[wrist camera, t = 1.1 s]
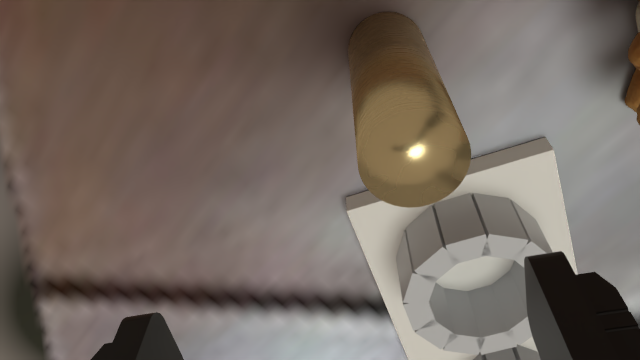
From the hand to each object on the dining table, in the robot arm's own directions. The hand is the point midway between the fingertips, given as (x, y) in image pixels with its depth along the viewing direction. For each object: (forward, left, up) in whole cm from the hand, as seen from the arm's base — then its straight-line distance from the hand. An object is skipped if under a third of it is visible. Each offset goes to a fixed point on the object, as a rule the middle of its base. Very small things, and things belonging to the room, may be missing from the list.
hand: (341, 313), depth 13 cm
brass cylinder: (-2, +2, -21) cm, 21 cm away
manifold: (-3, +21, -21) cm, 30 cm away
